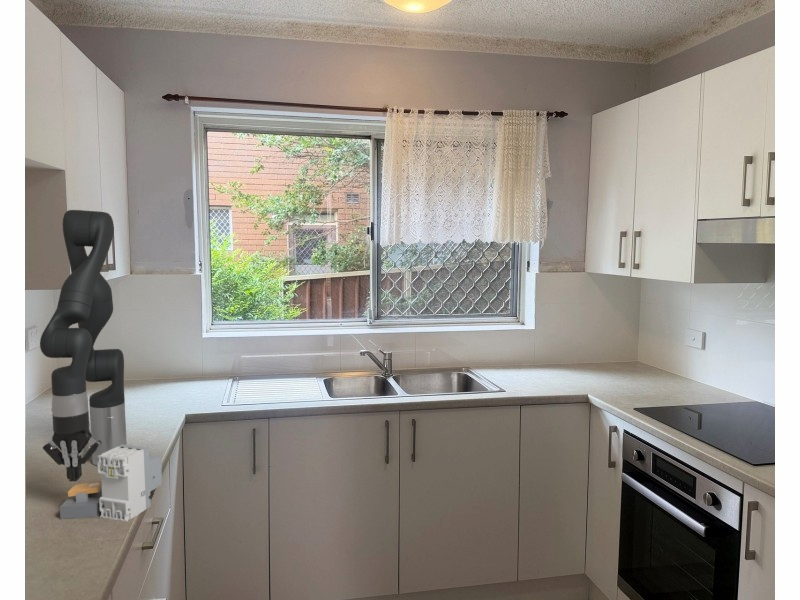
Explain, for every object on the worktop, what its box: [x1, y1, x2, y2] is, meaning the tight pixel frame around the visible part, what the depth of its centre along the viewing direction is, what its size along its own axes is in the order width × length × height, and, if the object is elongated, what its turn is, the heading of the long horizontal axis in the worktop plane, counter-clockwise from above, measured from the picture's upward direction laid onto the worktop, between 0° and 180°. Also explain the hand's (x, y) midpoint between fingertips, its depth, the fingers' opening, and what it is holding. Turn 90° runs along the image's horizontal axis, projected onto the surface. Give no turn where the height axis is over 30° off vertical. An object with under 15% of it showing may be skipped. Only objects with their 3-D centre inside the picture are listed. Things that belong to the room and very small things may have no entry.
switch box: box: [59, 489, 104, 520], centre depth 139 cm, size 10×8×5 cm
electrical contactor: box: [97, 444, 163, 523], centre depth 140 cm, size 8×14×15 cm, turn 164°
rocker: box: [67, 480, 102, 498], centre depth 139 cm, size 4×7×2 cm, turn 97°
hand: (74, 480), depth 138 cm, fingers closed
